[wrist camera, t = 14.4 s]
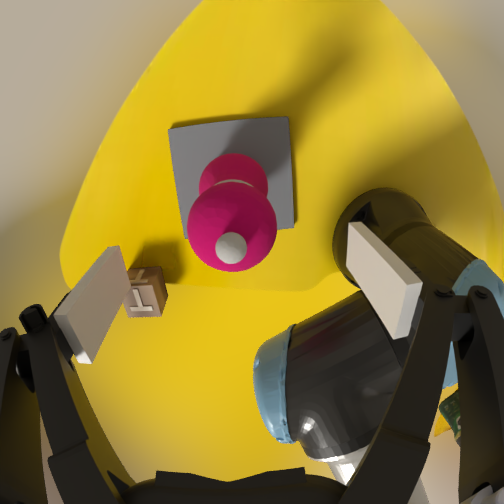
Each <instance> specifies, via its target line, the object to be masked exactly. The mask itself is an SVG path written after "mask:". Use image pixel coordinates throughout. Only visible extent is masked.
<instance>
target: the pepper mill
mask: <svg viewBox="0 0 504 504" xmlns="http://www.w3.org/2000/svg"><path fill="white" fill-rule="evenodd" d="M267 195H268V181H267V177H266V174H265V172H264V170H263V168H262V167H261V166H260V165H259V163H257V162H256V161H255V160H254V159H252V158H250V157H248V156H246V155H243V154H237V153H230V154H225V155H221V156H219V157H217V158H215V159H214V160H212V161H211V162H210V163H209V164H208V165H207V166H206V167H205V169H204V171H203V172H202V175H201V177H200V182H199V197H198V198H197V199H196V200H195V202H194V203H193V205H192V207H191V209H190V212H189V215H188V221H187V234H188V239H189V242H190V245H191V247H192V249H193V250H194V252H195V253H196V255H197V256H198V257H199V258H200V259H201V260H202V261H203V262H204V263H206V264H207V265H209V266H211V267H213V268H215V269H218V270H222V271H228V272H238V271H243V270H247V269H249V268H251V267H254V266H255V265H257V264H258V263H260V262H261V261H262V260H263V259H264V258H265V257H266V256H267V255H268V253H269V252H270V250H271V249H272V247H273V244H274V242H275V239H276V234H277V220H276V214H275V212H274V209H273V207H272V205H271V203H270V202H269V200H268V199H267Z"/></svg>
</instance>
